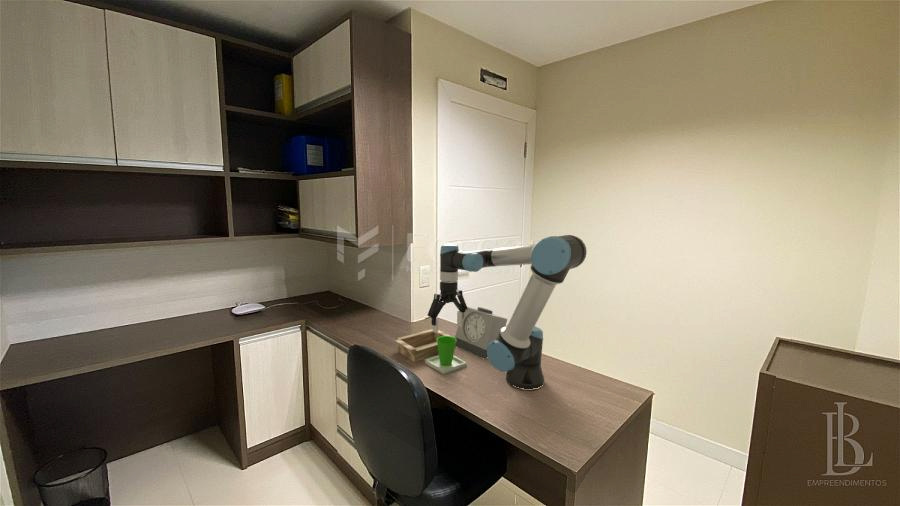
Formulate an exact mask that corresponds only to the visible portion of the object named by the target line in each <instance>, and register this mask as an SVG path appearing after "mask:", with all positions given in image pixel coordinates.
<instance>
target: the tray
mask: <svg viewBox="0 0 900 506" xmlns="http://www.w3.org/2000/svg"><path fill="white" fill-rule="evenodd" d="M467 362H468V361H467ZM467 362H466V361H465V360H463V359H461V358H459V357H458V356H456V355H455V354H454V355H453V360H452V364H451V365H450V366H443V365H441V364H440V359H439V354H438V355H435V356H431V357H428V358H425V359H424V364H426V365H428V367H430V368H432V369H433V370H435V371H436V372H439V373H440V374H442V375H444V376H445V375H447V374H449V373H452V372H455V371H458V370H460V369H463V368H466V367H467V365H468V363H467Z"/></svg>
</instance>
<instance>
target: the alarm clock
mask: <svg viewBox="0 0 900 506" xmlns="http://www.w3.org/2000/svg"><path fill="white" fill-rule="evenodd" d="M493 312H494V311H492V310H491V309H488V308H484V307H477V308H475V307H470V306H467V310H466V311H465V312H464V316H463V319H462V327H460V326H458V325H457V329H456V333H455V335H454V338H456V339H457V342H456V345H455V347H457V348H459V349H461V350H463V351H466V352H468V353H470V354H472V355H474V356H476V355H477V357H479V358H481V359H483V358H484V360H485V359H487V357H488V356H487V347H488V345H489V343H491V342H492V341H493V340H496V339H497V337H498V335H499V332H500V330H501V329H502V328H503V327H505V326H507V322H508V318H505V317H503V316H500V315H497V314H494V313H493Z"/></svg>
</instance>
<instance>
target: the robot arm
mask: <svg viewBox="0 0 900 506" xmlns="http://www.w3.org/2000/svg"><path fill="white" fill-rule="evenodd" d="M587 250H588V249H587V247H586V244H585V242H584V241H583V240H582V239H581V238H580V237H578V236H575V235H572V234H566V235H559V236H558V235H552V236H547V237H545V238H543V239H540V240H538V241H537V242H536V243H534V244H525V245H516V246H505V247H504V246H503V247H495V248H486V249H481V250H478V249H477V250H470V251H464V250H460V249H459V245H457V244H453V243H445V244H442V245H441V246H440V253H439V256H440V257H439V258H440V260H439V261H440V262H439V263H440V265H439V266H440V267H439V280H440V281H439V290H440V292H439V293H434V294H433V299H432V303H431V305H430V308H429V310H428V312H427V317H430V318H431V325H432V329H433V332H434V333H438V330H439V315H440V313H441V311H442V310H443V308H444V306H445V305H446V304H449V303H453V304H454V305H455V307H456V309H458V311H457V312H456V315H457V318H456V326H457V327H458V326H460V327H462V319H463V316H464V312H465V311H466V310H467V307H468V305H467V303H466V300H465V298H464V295H463V290H461V289H458V280H459V279H458V278H459V277H458V276H459V270H462V271H465V272H470V273H472V272H474V273H475V272H476V273H477V272H479V271H480V270H481V269H484V268H490V267H491V268H492V267H493V268H495V267H507V266H508V267H509V266H524V265H530V271H531V273H532V274H531V276H530V278H529V280H528V282H527V284H526V286H525V288H524V291H523V292H522V295H520V296H521V297H520V299H519V301H518V303H517V305H516V307H515V309H514V310H513V313H512V315H511V317H510V319H509V321H508V324H506V326H505V327H503V328H502V329H501V330H500V332H499V335H498V337H497V339H496V340H493V341H492V342H491V343H489V345H488V347H487V356H488V361H489V363H490V365H491V366H492V367H493V368H494V369H496V370H497V371H499V372H503V373H504V372H506V373H505V380H507V381H506V383H507V384H509V383H510V384H511V385H514V386H516V387H519V388H524V389H533V388H538V387H540V386H542V385H543V383H544V384H545V376H544V374H543V369H542V365H541V364H542V356H543V345H544V344H543V342H544V332H543V330H542V329H541V328H540V327H537V326H536V324H537V322H538V321H539V319H540V317H541V315H542V313H543V311H544V309H545V307H546V305H547V303H548V301H549V299H550V298H551V295H552V294H553V292H554V290H555V288H556V286H557V285H561V284H563V283H564V281H565V279H566V277H567V275H568V273H569V271H570V270H572V269H575V268H578V267H579V266H581V265H582V264H583V263H584V262H585V260H586V257H587ZM510 384H509V385H510ZM511 385H510V386H511ZM543 386H544V385H543Z"/></svg>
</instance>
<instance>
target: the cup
mask: <svg viewBox="0 0 900 506" xmlns="http://www.w3.org/2000/svg"><path fill="white" fill-rule="evenodd" d="M436 341H437V344H438V352H439V354H438V355H439V359H440V364H441V365H443V366H450V365H451V364H452V360H453V355H454V356H455V354H454V353H455V349H456V346H455V345H456V342H457V339H456V338H455V336H453V335H450V336H441V337H438V338H437V339H436Z"/></svg>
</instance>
